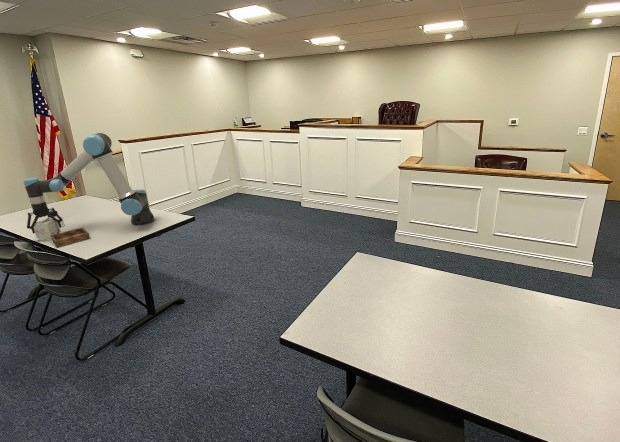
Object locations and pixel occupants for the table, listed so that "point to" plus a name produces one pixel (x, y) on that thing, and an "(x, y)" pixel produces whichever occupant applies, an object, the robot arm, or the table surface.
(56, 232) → the ink box
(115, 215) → the table surface
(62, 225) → the medicine bottle
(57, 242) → the walnut tray
